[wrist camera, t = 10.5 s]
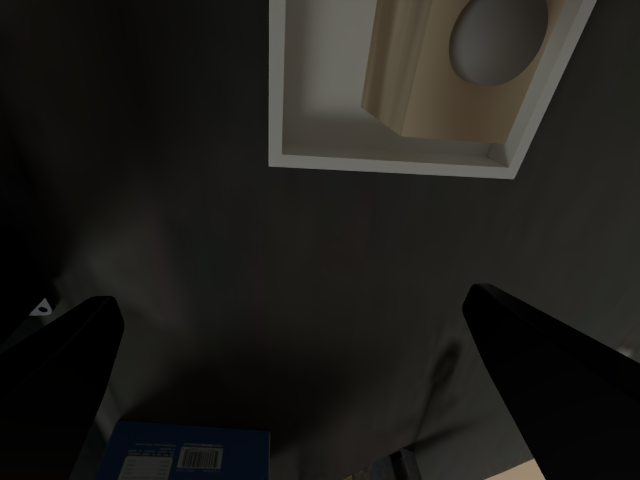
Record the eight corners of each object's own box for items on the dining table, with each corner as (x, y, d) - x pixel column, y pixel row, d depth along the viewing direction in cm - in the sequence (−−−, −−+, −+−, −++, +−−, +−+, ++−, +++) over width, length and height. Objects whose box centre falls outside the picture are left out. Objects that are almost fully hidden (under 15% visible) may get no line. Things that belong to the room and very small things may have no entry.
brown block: (360, 106, 15) (409, 142, 10) (385, -54, 12) (481, -142, 6) (433, 113, 16) (519, 150, 10) (475, -38, 13) (635, -107, 7)
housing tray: (269, 151, 16) (268, 166, 14) (271, -169, 10) (270, -223, 8) (487, 164, 18) (514, 178, 16) (592, -99, 12) (656, -128, 10)
